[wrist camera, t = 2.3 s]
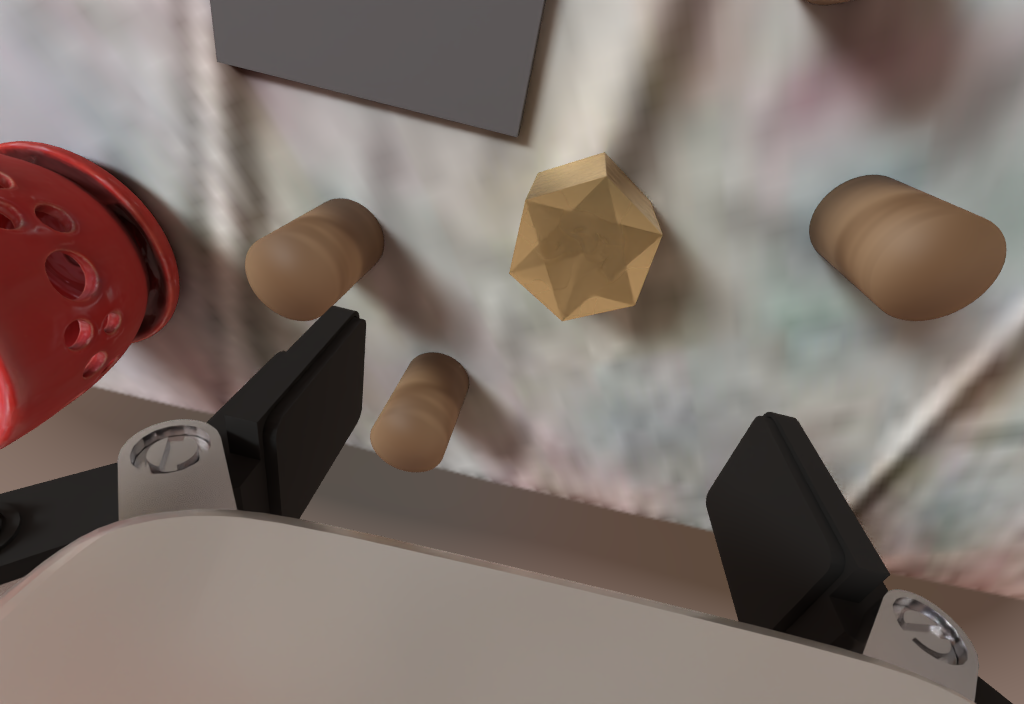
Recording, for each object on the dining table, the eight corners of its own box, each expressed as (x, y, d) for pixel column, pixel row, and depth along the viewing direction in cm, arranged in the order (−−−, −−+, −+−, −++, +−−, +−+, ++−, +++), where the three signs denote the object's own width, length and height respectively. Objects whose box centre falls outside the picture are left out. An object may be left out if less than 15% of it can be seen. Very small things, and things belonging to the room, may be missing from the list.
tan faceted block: (546, 137, 22) (534, 157, 18) (662, 166, 22) (678, 194, 18) (517, 263, 26) (502, 305, 21) (617, 289, 26) (622, 336, 21)
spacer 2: (473, 361, 29) (448, 426, 24) (464, 410, 31) (439, 479, 26) (410, 345, 29) (372, 406, 24) (404, 395, 31) (368, 461, 26)
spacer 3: (930, 187, 21) (1036, 230, 16) (874, 270, 23) (951, 332, 18) (840, 164, 21) (917, 201, 16) (792, 250, 23) (847, 305, 18)
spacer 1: (386, 209, 25) (333, 248, 20) (382, 278, 27) (333, 330, 22) (311, 190, 25) (240, 225, 20) (313, 260, 27) (249, 308, 22)
